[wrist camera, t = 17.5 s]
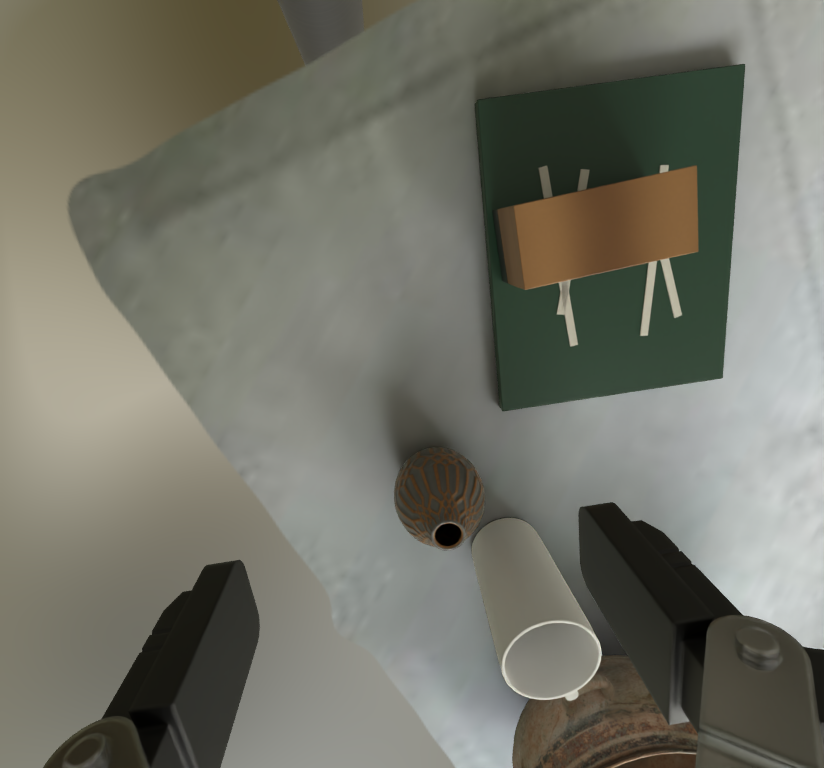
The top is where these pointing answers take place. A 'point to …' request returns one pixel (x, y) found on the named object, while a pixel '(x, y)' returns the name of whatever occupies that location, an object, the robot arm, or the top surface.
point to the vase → (439, 497)
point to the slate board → (628, 287)
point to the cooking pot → (603, 727)
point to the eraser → (598, 229)
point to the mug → (532, 614)
